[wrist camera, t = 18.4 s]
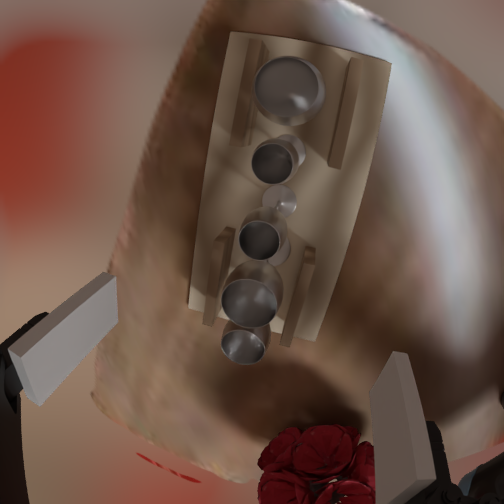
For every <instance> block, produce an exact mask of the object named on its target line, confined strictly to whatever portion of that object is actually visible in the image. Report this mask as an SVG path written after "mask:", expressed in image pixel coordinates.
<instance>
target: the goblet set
mask: <svg viewBox="0 0 504 504" xmlns="http://www.w3.org/2000/svg"><path fill="white" fill-rule="evenodd" d="M252 97H253V100H254V103H255V105H256V107H257V109H258V110H259V111H260V113H261V114H262V115H263V116H265V117H266V118H267V119H269V120H270V121H272V122H274V123H277V124H280V125H285V126H296V125H300V124H304V123H306V122H308V121H310V120H311V119H313V118H314V117H315V116H316V115H317V114H318V113H319V112H320V110H321V109H322V107H323V105H324V103H325V99H326V85H325V81H324V79H323V77H322V75H321V73H320V72H319V70H318V69H317V68H316V67H315V66H314V65H313V64H311V63H310V62H308V61H307V60H305V59H302V58H300V57H296V56H280V57H276V58H273V59H271V60H269V61H267V62H266V63H264V64H263V65H262V66H261V67H260V68H259V70H258V71H257V72H256V74H255V76H254V79H253V82H252ZM305 156H306V149H305V146H304V144H303V142H302V141H301V140H300V139H299V138H298V137H296V136H293V135H282V136H280V137H278V138H274V139H268V140H266V141H264V142H262V143H261V144H260V145H258V146H257V148H256V149H255V151H254V152H253V155H252V158H251V168H252V171H253V173H254V175H255V176H256V177H257V179H259V180H260V181H261V182H263V183H265V184H269V185H273V186H271V187H269V188H268V189H267V190H266V191H265V193H264V194H263V198H262V204H263V207H259V208H257V209H255V210H253V211H252V212H250V213H249V214H248V215H247V216H246V218H245V219H244V220H243V222H242V224H241V227H240V230H239V236H238V242H239V246H240V248H241V250H242V252H243V253H244V254H245V255H246V256H247V257H249V258H251V259H253V260H249V261H246V262H244V263H242V264H240V265H239V266H237V267H236V268H235V269H234V270H233V271H232V272H231V273H230V275H229V276H228V278H227V280H226V282H225V284H224V287H223V290H222V295H221V306H222V309H223V311H224V313H225V315H226V316H227V317H228V318H229V319H230V320H229V321H228V323H227V324H226V326H225V328H224V331H223V334H222V339H221V348H222V351H223V353H224V354H225V355H226V356H227V357H228V358H229V359H230V360H232V361H233V362H236V363H238V364H243V365H251V364H255V363H257V362H259V361H260V360H261V359H262V358H263V357H264V355H265V353H266V351H267V349H268V347H269V344H270V340H271V328H270V324H269V323H270V322H271V321H272V320H273V319H274V317H275V316H276V314H277V312H278V310H279V308H280V306H281V303H282V300H283V293H284V288H283V282H282V278H281V276H280V274H279V272H278V270H277V269H276V268H275V267H274V266H278V265H280V264H282V263H284V262H285V261H286V260H287V259H288V257H289V255H290V252H291V246H290V242H289V240H288V238H287V223H286V220H285V218H286V217H288V216H290V215H291V214H292V213H293V212H294V210H295V208H296V205H297V199H296V196H295V194H294V192H293V191H292V190H291V189H290V188H289V187H287V186H285V185H279V184H283V183H285V182H287V181H289V180H290V179H291V178H292V177H293V176H294V175H295V173H296V172H297V169H298V166H300V165H301V164H302V162H303V161H304V159H305Z"/></svg>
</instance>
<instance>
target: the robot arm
mask: <svg viewBox="0 0 504 504" xmlns="http://www.w3.org/2000/svg"><path fill="white" fill-rule="evenodd" d="M117 323H118V313H117V292H116V276H114V275H111V274H108V273H105V272H103V273H101V274H100V275H99V276H98V277H96V278H95V279H93V280H92V281H91V282H89V283H88V284H87V285H85V286H84V287H83V288H81V289H80V290H79V291H78V292H76V293H75V294H74V295H72V296H71V297H70V298H68V299H67V300H66V301H65V302H63V303H62V304H61V305H60V306H58V307H57V308H56V309H55V310H53V311H52V312H51V313H50V314H49V313H47V312H44V313H41V314H39V315H36V316H34V317H33V318H32V319H31V320H29V321H28V322H27V324H24V325H23V326H22V327H21V329H20V328H19V329H18V330H17V331H16V332H15V333H13V334H12V335H11V336H10V337H9V338H8V339H6V340H5V341H4V342H3V343H1V344H0V504H29V499H28V493H27V486H26V480H25V470H24V461H23V451H22V434H21V398H20V394H19V393H20V391H21V390H22V389H24V391H25V394H26V396H27V398H28V399H30V400H31V401H33V402H34V403H36V404H37V405H38V406H41V405H42V404H43V403H44V402H45V401H46V399H47V398H48V397H49V396H50V395H51V394H52V393H53V392H54V390H55V389H56V388H57V387H58V386H59V385H60V384H61V383H62V382H63V380H64V379H65V378H66V377H67V376H68V375H69V374H70V373H71V372H72V370H73V369H74V368H75V367H76V366H77V365H78V364H79V363H80V362H81V361H82V360H83V359H84V357H86V355H87V354H88V353H89V352H90V351H91V350H92V349H93V348H94V347H95V346H96V345H97V344H98V343H99V342H100V341H101V340H102V338H103V337H104V336H105V335H106V334H107V333H108V332H109V331H110V330H111V329H112V328H113V327H114V326H115V325H116V324H117ZM369 394H370V404H371V415H372V428H373V442H374V460H375V488H376V504H504V452H502V453H501V454H499V455H498V456H496V457H495V458H493V459H491V460H490V461H488V462H486V463H485V464H481V465H480V466H478V467H477V468H476V469H474V470H473V471H471V472H469V473H468V474H466V475H465V476H464V477H463V478H462V479H461V480H460V482H459V484H458V486H457V485H456V484H453V483H452V482H451V479H450V474H449V468H448V463H447V458H446V454H445V452H444V450H445V449H444V445H443V444H442V442H443V440H442V436H441V432H440V430H439V428H438V427H437V425H436V424H435V422H434V421H425V418H424V414H423V409H422V405H421V401H420V397H419V393H418V389H417V386H416V382H415V378H414V375H413V371H412V367H411V364H410V361H409V357H408V354H407V353H402V352H396V351H393V352H392V354H391V356H390V357H389V359H388V361H387V363H386V365H385V366H384V368H383V370H382V372H381V373H380V375H379V377H378V379H377V380H376V382H375V384H374V385H373V387H372V389H371V390H370V392H369ZM501 404H502V407H503V409H504V392H503V395H502V399H501Z"/></svg>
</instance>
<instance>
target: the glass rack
mask: <svg viewBox="0 0 504 504" xmlns="http://www.w3.org/2000/svg"><path fill="white" fill-rule="evenodd" d="M280 56H296V57H300V58H302V59H305V60H307V61H308V62H310V63H311V64H313V65H314V66H315V67H316V68H317V69H318V70H319V72H320V73H321V75H322V77H323V79H324V81H325V85H326V99H325V103H324V105H323V107H322V109H321V110H320V112H319V113H318V114H317V115H316V116H315V117H314V118H313V119H311V120H310V121H308V122H306V123H304V124H300V125H296V126H285V125H280V124H277V123H274V122H272V121H270V120H269V119H267V118H266V117H265V116H263V115H262V114H261V113H260V111H259V110H258V109H257V107H256V105H255V103H254V100H253V97H252V82H253V79H254V76H255V74H256V72H257V71H258V70H259V68H260V67H261V66H262V65H263V64H264V63H266V62H267V61H269V60H271V59H273V58H276V57H280ZM391 65H392V63H389V62H386V61H383V60H380V59H376V58H373V57H370V56H366V55H362V54H359V53H355V52H351V51H347V50H343V49H339V48H335V47H331V46H326V45H322V44H317V43H312V42H307V41H301V40H296V39H290V38H283V37H277V36H269V35H261V34H253V33H242V32H231V33H230V37H229V42H228V46H227V51H226V56H225V61H224V66H223V71H222V76H221V81H220V86H219V91H218V97H217V102H216V107H215V113H214V119H213V124H212V130H211V136H210V142H209V148H208V155H207V161H206V167H205V174H204V181H203V188H202V195H201V202H200V209H199V217H198V224H197V232H196V241H195V249H194V258H193V267H192V276H191V285H190V295H189V306H188V308H190V309H193V310H197V311H200V312H203V313H204V315H203V323H202V324H204V325H208V326H211V327H212V325H213V324H214V322H215V320H216V318H217V317H221V318H224V319H228V320H230V319H229V318H228V317H227V316H226V315H225V313H224V311H223V309H222V306H221V295H222V290H223V287H224V284H225V282H226V280H227V278H228V276H229V275H230V273H231V272H232V271H233V270H234V269H235V268H236V267H237V266H239V265H240V264H242V263H244V262H246V261H249V260H253V259H251V258H249V257H247V256H246V255H245V254H244V253H243V252H242V250H241V248H240V246H239V242H238V236H239V230H240V227H241V224H242V222H243V220H244V219H245V218H246V216H247V215H248V214H249V213H250V212H252V211H253V210H255V209H257V208H259V207H263V204H262V198H263V194H264V193H265V191H266V190H267V189H268V188H269V187H271V186H273V185H269V184H265V183H263V182H261V181H260V180H259V179H257V177H256V176H255V175H254V173H253V171H252V168H251V158H252V155H253V152H254V151H255V149H256V148H257V146H258V145H260V144H261V143H262V142H264V141H266V140H268V139H274V138H278V137H280V136H282V135H293V136H296V137H298V138H299V139H300V140H301V141H302V142H303V144H304V146H305V149H306V156H305V159H304V161H303V162H302V164H301V165H300V166H298V169H297V172H296V173H295V175H294V176H293V177H292V178H291V179H290V180H289V181H287V182H285V183H283V184H279V185H285V186H287V187H289V188H290V189H291V190H292V191H293V192H294V194H295V196H296V199H297V205H296V208H295V210H294V212H293V213H292V214H291V215H290V216H288V217H286V218H285V220H286V223H287V238H288V240H289V242H290V246H291V252H290V255H289V257H288V259H287V260H286V261H285V262H284V263H282V264H280V265H278V266H274V267H275V268H276V269H277V270H278V272H279V274H280V276H281V278H282V282H283V288H284V293H283V300H282V303H281V306H280V308H279V310H278V312H277V314H276V316H275V317H274V319H273V320H272V321H271V322H270V323H269V324H270V328H271V331H273V332H277V333H281V334H282V336H281V341H280V345H282V346H286V347H290V344H291V341H292V338H293V337H297V338H301V339H306V340H310V341H314V342H315V340H316V337H317V335H318V332H319V330H320V327H321V324H322V321H323V319H324V316H325V313H326V310H327V308H328V305H329V302H330V299H331V296H332V293H333V290H334V287H335V285H336V282H337V279H338V276H339V273H340V269H341V266H342V263H343V260H344V257H345V254H346V251H347V248H348V244H349V241H350V238H351V234H352V231H353V228H354V224H355V221H356V217H357V214H358V210H359V207H360V203H361V200H362V196H363V192H364V189H365V185H366V181H367V177H368V173H369V169H370V165H371V161H372V157H373V153H374V149H375V145H376V140H377V136H378V131H379V127H380V122H381V118H382V113H383V108H384V103H385V98H386V93H387V87H388V82H389V76H390V71H391Z"/></svg>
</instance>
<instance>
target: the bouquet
mask: <svg viewBox="0 0 504 504" xmlns="http://www.w3.org/2000/svg"><path fill="white" fill-rule="evenodd" d="M360 436H361V433H360V434H359V433H358V431H357V428H354V427H351V426H344V427H342V426H340V425H337V424H331V425H318V426H313V427H309V428H308V429H306V430H305V431H302V430H300V429H298V428H297V427H289V428H287V429H285V430H284V431H282V432H280V433H279V435H278V437H275V438H274V439H273V440H272V441H271V442H270V443H269V445H268V446H267V447H265V449H264V450H263V451H262V453H261V457H260V458H259V459H258V463H257V465H258V466H259V467H260V468H261V470H264V473H263V474H262V476H261V478H260V482H259V485H258V500H259V504H335V503H337V504H376V488H375V460H374V446H372V445H371V443H369V442H367V441H364V442H362V443H360V444H359V445H358V442H359V439H360ZM336 466H337V467H336ZM333 479H337V481H335V482H331V483H329V482H330V481H331V480H333ZM345 495H346V496H348V497H344V496H345ZM339 501H341V503H340V502H339Z"/></svg>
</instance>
